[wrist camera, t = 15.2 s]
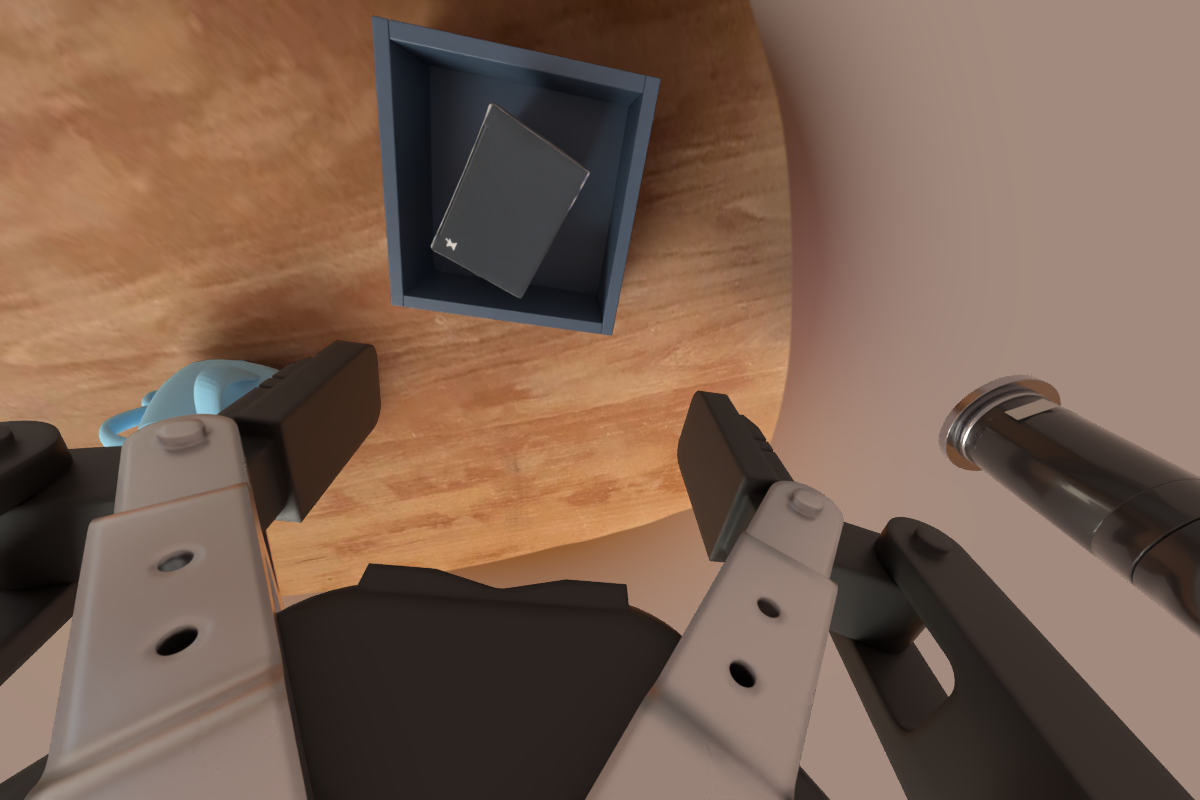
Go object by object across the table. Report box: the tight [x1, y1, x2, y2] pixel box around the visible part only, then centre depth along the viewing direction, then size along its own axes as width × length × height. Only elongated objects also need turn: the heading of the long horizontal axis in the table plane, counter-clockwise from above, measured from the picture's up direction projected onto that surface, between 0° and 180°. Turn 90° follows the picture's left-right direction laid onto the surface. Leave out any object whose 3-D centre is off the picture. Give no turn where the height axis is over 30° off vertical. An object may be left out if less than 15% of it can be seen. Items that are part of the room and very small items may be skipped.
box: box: [431, 103, 589, 299], centre depth 27 cm, size 8×6×11 cm
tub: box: [372, 16, 661, 335], centre depth 29 cm, size 15×15×8 cm
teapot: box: [99, 359, 279, 447], centre depth 35 cm, size 13×14×11 cm
